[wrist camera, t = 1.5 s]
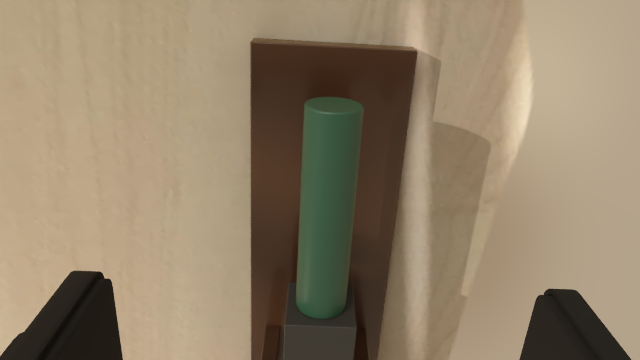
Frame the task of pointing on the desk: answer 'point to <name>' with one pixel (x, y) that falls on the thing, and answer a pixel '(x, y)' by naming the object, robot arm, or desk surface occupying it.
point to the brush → (325, 234)
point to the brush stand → (285, 173)
